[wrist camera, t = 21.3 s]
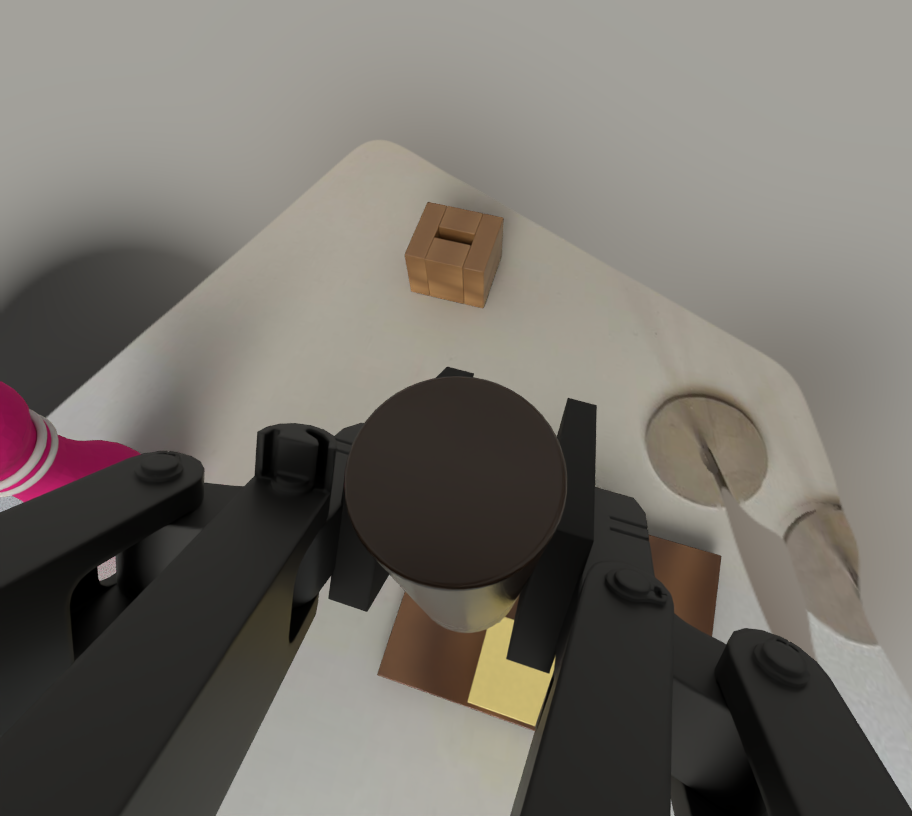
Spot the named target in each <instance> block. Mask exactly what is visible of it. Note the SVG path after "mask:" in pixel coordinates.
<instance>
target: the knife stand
mask: <svg viewBox="0 0 912 816" xmlns="http://www.w3.org/2000/svg"><path fill="white" fill-rule="evenodd" d="M502 237H503V218H502V217H497V216H493V215H488V214H483V213H479V212H474V211H469V210H464V209H460V208H455V207H450V206H445V205H440V204H436V203H431V202H427V205H426V207H425V209H424V212H423V214H422V216H421V218H420V221H419V223H418V225H417V227H416V230H415V232H414V234H413V237H412V239H411V241H410V243H409V246H408V248H407V250H406V252H405V259H406V265H407V270H408V276H409V281H410V287H411V291H412V292H416V293H421V294H425V295H430V296H433V297H437V298H441V299H445V300H450V301H454V302H458V303H462V304H467V305H471V306H476V307H480V308H484V305H485V302H486V300H487V297H488V294H489V291H490V288H491V285H492V282H493V280H494V277H495V274H496V271H497V268H498V265H499V262H500V260H501V255H502Z"/></svg>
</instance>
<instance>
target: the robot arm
mask: <svg viewBox="0 0 912 816" xmlns="http://www.w3.org/2000/svg"><path fill="white" fill-rule="evenodd" d="M473 375H474V373H470V372H466V371H462V370H458V369H454V368H450V367H446V368H445V369H444V370H443V371H442V372H441V373H440V374H439V375H438V376H437V377H436V378H441V377H452V376H463V377H473ZM596 410H597V405H593V404H589V403H585V402H582V401H578V400H574V399H570V398H568V399H567V403H566V406H565V410H564V414H563V417H562V421H561V424H560V428H559V431H558V435H557V439H558V441H559V444H560V446H561V449H562V451H563V455H564V459H565V463H566V471H567V496H566V502H565V507H564V511H563V514H562V517H561V520H560V523H559V525H558V527H557V529H556V531H555V533H554V535H553V537H552V539H551V540H550V542H549V544H548V545H547V547H546V549H545V551H544V552H543V554H542V556H541V558H540V559H539V561H538V563H537V565H536V566H535V568H534V570H533V572H532V573H531V575H530V577H529V579H528V580H527V582H526V584H525V586H524V587H523V589H522V591H521V593H520V596H519V600H518V605H517V610H516V614H515V619H514V624H513V629H512V633H511V638H510V643H509V647H508V652H507V657H506V659H507V660H510V661H513V662H516V663H519V664H522V665H525V666H528V667H530V668H533V669H536V670H539V671H542V672H545V673H548V674H549V673H550V670H551V667H552V664H553V661H554V658H555V665H554V672H553V674H552V677H551V680H550V683H549V686H548V689H547V692H546V695H545V698H544V701H543V704H542V707H541V710H540V713H539V716H538V719H537V722H536V725H535V733H534V736H533V740H532V743H531V746H530V750H529V753H528V757H527V760H526V764H525V767H524V770H523V774H522V777H521V781H520V784H519V787H518V791H517V794H516V798H515V801H514V804H513V808H512V811H511V815H510V816H670V808H671V801H672V806H673V810H674V815H675V816H912V810H911V808H910V807H909V805H908V803H907V802H906V800H905V799H904V797H903V795H902V794H901V792H900V791H899V789H898V787H897V786H896V784H895V782H894V781H893V779H892V778H891V776H890V774H889V773H888V771H887V770H886V768H885V766H884V765H883V763H882V761H881V760H880V758H879V757H878V755H877V753H876V752H875V750H874V748H873V747H872V745H871V744H870V742H869V740H868V739H867V737H866V736H865V734H864V732H863V731H862V729H861V727H860V726H859V724H858V723H857V721H856V719H855V718H854V716H853V715H852V713H851V711H850V710H849V708H848V706H847V705H846V703H845V702H844V700H843V698H842V697H841V695H840V694H839V692H838V690H837V689H836V687H835V685H834V684H833V682H832V681H831V679H830V677H829V676H828V675H827V674H826V672H825V671H824V670H823V669H822V668H821V666H820V665H819V664H818V663H817V662H816V661H815V660H814V659H813V658H811V657H810V656H809V655H808V654H807V653H805V652H804V651H803V650H802V649H801V648H799V647H798V646H796V645H795V644H793V643H792V642H788V640H786V639H784V638H782V637H780V636H777V635H774V634H771V633H768V632H766V631H763V630H757V629H748V628H744V629H741V630H738V631H734V632H733V634H732V635H731V637H730V639H729V640H728V642H727V644H725V643H723V642H721V641H719V640H717V639H715V638H713V637H711V636H710V635H708V634H706V633H704V632H702V631H700V630H698V629H697V628H695V627H693V626H692V625H690V624H688V623H687V622H685V621H684V620H683V619H681V618H680V617H679V616H678V615H676V614H675V613H674V602H673V599H672V595H671V593H670V592H669V591H668V589H667V588H666V587H665V586H664V584H663V583H662V582H661V581H659V580H658V579H657V578H655V573H654V567H653V560H652V554H651V547H650V542H649V534H648V530H647V520H646V514H645V512H644V511H643V509H642V508H641V507H640V505H639V504H638V503H637V502H636V500H635V499H634V498H632V497H628V496H625V495H621V494H618V493H614V492H611V491H607V490H604V489H600V488H597V487H595V459H596ZM363 425H364V423H359V424H356V425H353V426H350V427H347V428H344V429H342V430H341V431H340V432H339V433H338V434H336V435H335V436H333V435H332V434H330V433H328V432H327V431H325V430H324V429H320V428H317V427H314V426H311V425H304V424H297V423H289V424H277V425H273V426H268V427H266V428H264V429H262V430H260V431H258V432H257V447H256V463H255V476H254V477H253V478H252V479H251V480H250V481H249V482H248V483H247V484H246V485H245V486H230V485H221V484H211V483H204V467H203V465H202V463H201V462H200V461H199V460H197V459H195V458H194V457H192V456H189V455H185V454H181V453H178V452H172V451H169V452H168V451H157V452H152V453H144V454H140V455H137V456H134V457H130V458H127V459H125V460H123V461H120V462H118V463H116V464H113V465H111V466H109V467H106V468H104V469H102V470H99V471H97V472H94V473H92V474H90V475H87V476H85V477H83V478H80V479H78V480H76V481H73V482H71V483H69V484H66V485H64V486H62V487H59V488H57V489H54V490H52V491H50V492H47V493H45V494H43V495H40V496H38V497H36V498H33V499H31V500H29V501H26V502H24V503H22V504H19V505H17V506H14V507H12V508H10V509H7V510H5V511H3V512H0V816H216V814H217V812H218V810H219V808H220V806H221V804H222V801H223V799H224V797H225V795H226V793H227V791H228V789H229V787H230V785H231V783H232V781H233V779H234V777H235V775H236V773H237V771H238V769H239V767H240V765H241V763H242V761H243V759H244V757H245V755H246V753H247V751H248V749H249V747H250V745H251V743H252V741H253V739H254V737H255V735H256V733H257V731H258V729H259V727H260V725H261V723H262V721H263V719H264V717H265V715H266V713H267V711H268V709H269V707H270V705H271V703H272V701H273V699H274V697H275V695H276V693H277V691H278V689H279V687H280V685H281V683H282V681H283V679H284V677H285V675H286V673H287V671H288V669H289V667H290V665H291V663H292V661H293V659H294V657H295V655H296V653H297V651H298V649H299V647H300V645H301V643H302V641H303V639H304V637H305V635H306V633H307V631H308V629H309V627H310V625H311V623H312V621H313V619H314V617H315V615H316V610H317V605H318V597H319V591H320V590H321V588H322V587H323V586H324V584H325V583H326V582H327V580H328V579H329V578H330V576H331V583H330V590H329V598H328V599H331V600H334V601H337V602H340V603H343V604H345V605H348V606H351V607H354V608H357V609H360V610H363V611H366V612H367V611H368V610H369V608H370V606H371V605H372V603H373V601H374V599H375V598H376V596H377V594H378V593H379V591H380V589H381V588H382V586H383V584H384V582H385V581H386V579H387V577H388V576H389V573H388V572H387V571H386V570H385V569H384V568H383V567H382V566H381V565H380V564H379V563H378V562H377V561H376V560H375V559H374V558H373V557H372V556H371V554H370V553H369V552H368V551H367V550H366V548H365V547H364V546H363V544H362V543H361V541H360V540H359V538H358V536H357V534H356V532H355V531H354V529H353V527H352V524H351V521H350V518H349V515H348V512H347V507H346V503H345V495H344V476H345V468H346V463H347V458H348V455H349V452H350V449H351V447H352V444H353V442H354V440H355V438H356V436H357V434H358V432H359V431H360V429H361V428H362V426H363ZM114 556H116V573H115V574H114V575H112V576H111V577H109V578H107V579H104V580H102V581H99V579H98V570H97V566H99V565H101V564H102V563H104V562H106V561H107V560H109V559H111V558H112V557H114Z"/></svg>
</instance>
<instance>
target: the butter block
mask: <svg viewBox="0 0 912 816" xmlns="http://www.w3.org/2000/svg"><path fill="white" fill-rule="evenodd" d="M513 624H514V620H513V619H510V618H507V617H504V618H503V619H502V620H501V622H500V623H497V624H495V625H494V626H492V627H490V628H488V629H487V631H486V635H485V638H484V642H483V646H482V649H481V653H480V657H479V660H478V664H477V668H476V672H475V675H474V679H473V683H472V686H471V690H470V694H469V697H468V703H471V704H474V705H477V706H480V707H482V708H485V709H488V710H491V711H494V712H496V713H499V714H502V715H505V716H508V717H510V718H513V719H516V720H519V721H522V722H524V723H527V724H530V725H533V726H535V725H536V722H537V719H538V716H539V713H540V710H541V707H542V704H543V701H544V698H545V695H546V692H547V689H548V686H549V683H550V680H551V677H552V674H553V672H554V665H555V658H554V661H553V664H552V667H551V670H550V673H549V674H548V673H545V672H542V671H539V670H536V669H533V668H530V667H528V666H525V665H522V664H519V663H516V662H513V661H510V660H507V659H506V657H507V652H508V647H509V643H510V638H511V633H512V629H513Z"/></svg>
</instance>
